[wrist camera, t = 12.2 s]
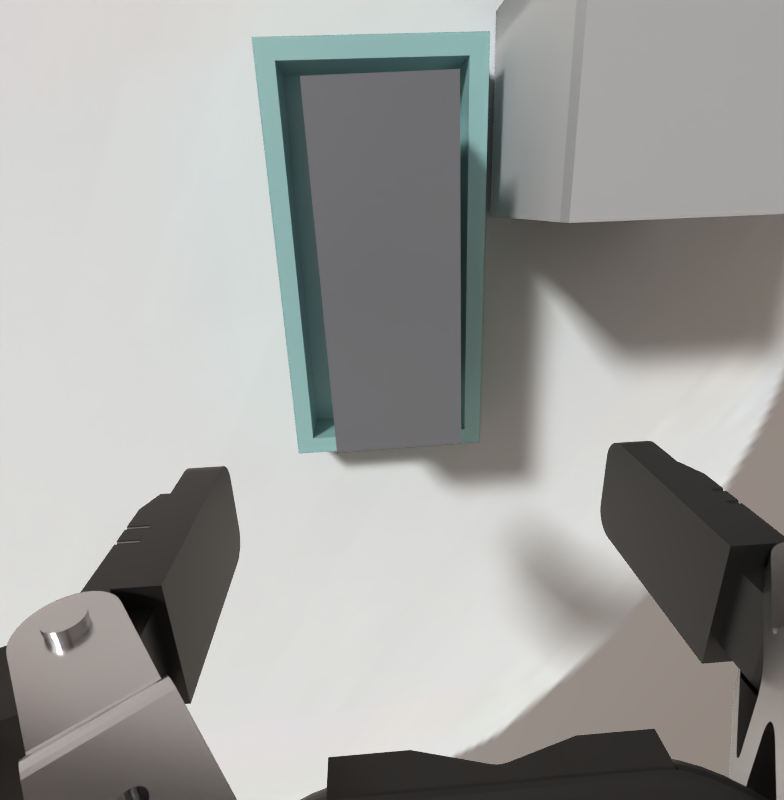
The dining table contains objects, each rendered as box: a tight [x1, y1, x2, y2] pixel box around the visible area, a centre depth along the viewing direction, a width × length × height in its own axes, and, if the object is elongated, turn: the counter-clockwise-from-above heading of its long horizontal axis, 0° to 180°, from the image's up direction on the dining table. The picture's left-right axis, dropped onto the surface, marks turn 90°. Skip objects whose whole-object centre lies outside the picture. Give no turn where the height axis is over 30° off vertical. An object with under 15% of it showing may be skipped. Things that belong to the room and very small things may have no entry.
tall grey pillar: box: [300, 69, 461, 453], centre depth 22 cm, size 13×5×8 cm, turn 3°
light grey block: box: [491, 0, 784, 223], centre depth 20 cm, size 9×9×10 cm
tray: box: [252, 31, 490, 453], centre depth 25 cm, size 18×9×3 cm, turn 2°
